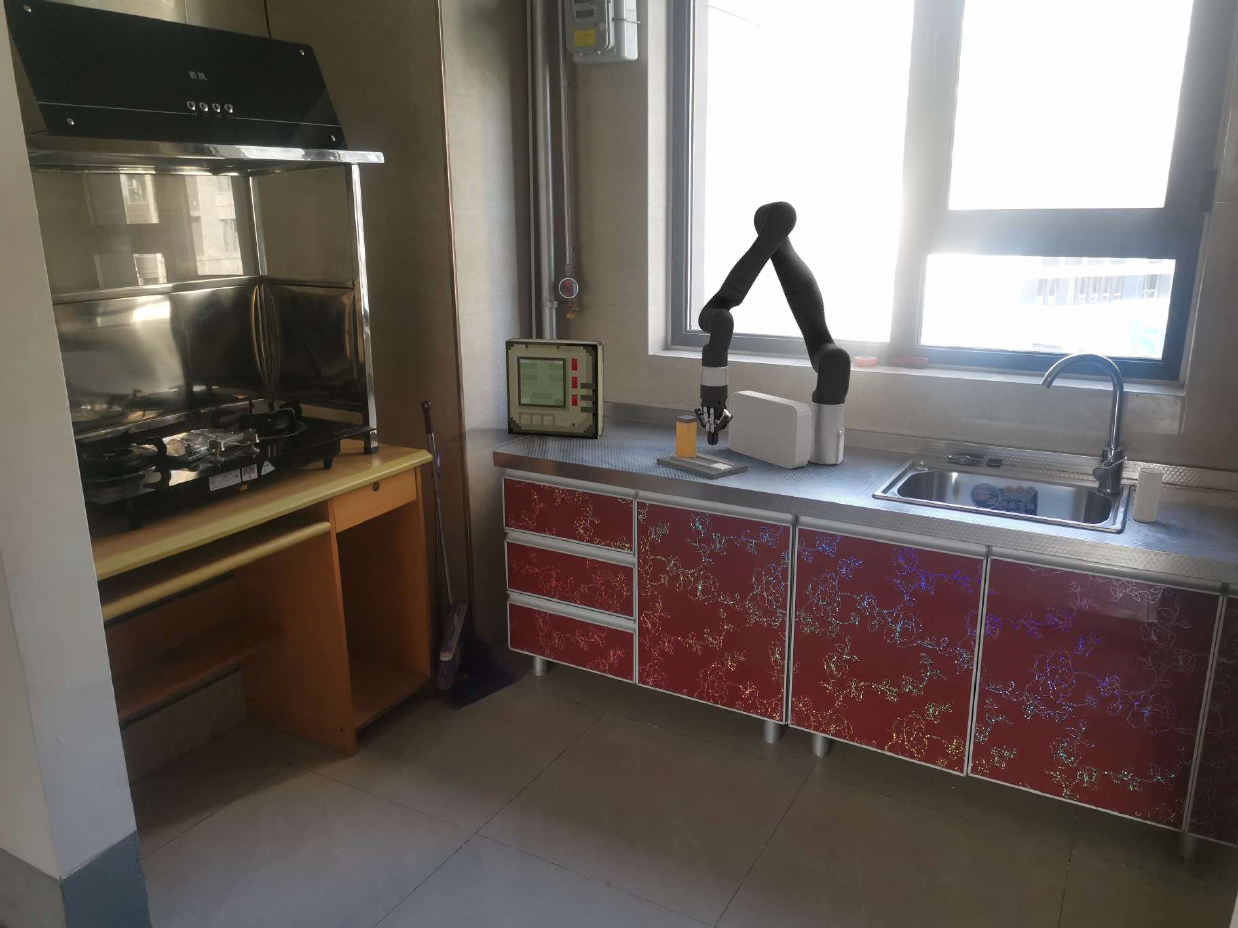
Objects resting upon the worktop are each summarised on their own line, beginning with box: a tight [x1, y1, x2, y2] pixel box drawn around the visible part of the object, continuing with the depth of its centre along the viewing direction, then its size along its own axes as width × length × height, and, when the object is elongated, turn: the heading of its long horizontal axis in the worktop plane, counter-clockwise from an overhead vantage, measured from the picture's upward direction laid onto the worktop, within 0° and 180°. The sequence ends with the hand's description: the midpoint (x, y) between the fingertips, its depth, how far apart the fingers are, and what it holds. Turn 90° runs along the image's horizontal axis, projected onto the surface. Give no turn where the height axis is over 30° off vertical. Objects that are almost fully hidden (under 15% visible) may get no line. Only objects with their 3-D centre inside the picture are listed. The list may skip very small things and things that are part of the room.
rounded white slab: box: [727, 390, 811, 470], centre depth 263 cm, size 29×8×18 cm, turn 33°
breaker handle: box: [675, 414, 698, 458], centre depth 258 cm, size 4×4×11 cm
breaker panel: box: [656, 451, 749, 480], centre depth 255 cm, size 22×14×2 cm, turn 41°
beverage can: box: [1131, 467, 1164, 524], centre depth 210 cm, size 5×5×12 cm
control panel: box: [505, 337, 605, 440], centre depth 290 cm, size 30×8×30 cm, turn 76°
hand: (712, 444), depth 251 cm, fingers closed
